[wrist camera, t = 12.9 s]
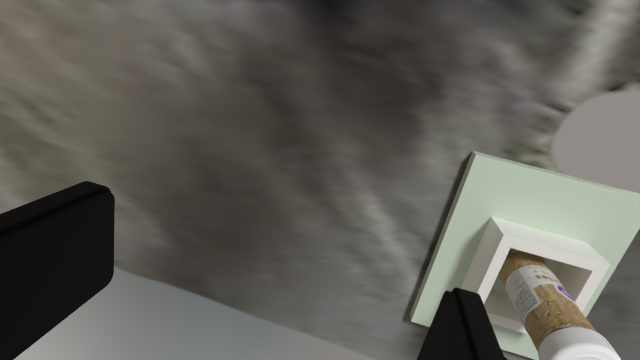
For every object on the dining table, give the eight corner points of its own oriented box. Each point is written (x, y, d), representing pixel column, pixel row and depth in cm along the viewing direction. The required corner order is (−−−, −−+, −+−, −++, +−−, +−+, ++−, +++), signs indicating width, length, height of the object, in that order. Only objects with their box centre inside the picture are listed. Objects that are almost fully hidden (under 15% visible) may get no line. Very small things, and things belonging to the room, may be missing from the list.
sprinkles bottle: (553, 257, 35) (644, 366, 23) (527, 292, 37) (598, 412, 24) (509, 238, 35) (575, 335, 23) (485, 274, 37) (534, 383, 24)
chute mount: (472, 150, 35) (487, 165, 30) (644, 194, 33) (691, 219, 28) (410, 312, 42) (413, 347, 37) (550, 355, 40) (574, 398, 35)
